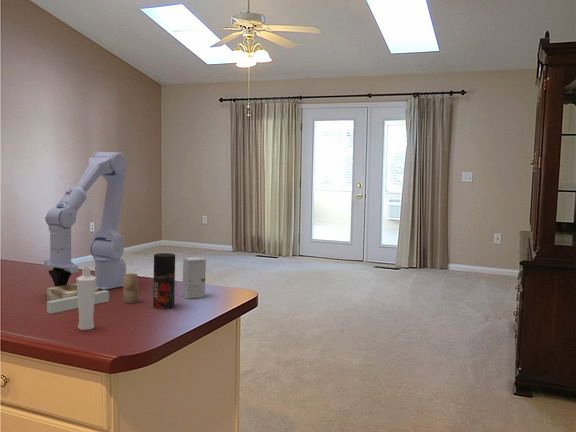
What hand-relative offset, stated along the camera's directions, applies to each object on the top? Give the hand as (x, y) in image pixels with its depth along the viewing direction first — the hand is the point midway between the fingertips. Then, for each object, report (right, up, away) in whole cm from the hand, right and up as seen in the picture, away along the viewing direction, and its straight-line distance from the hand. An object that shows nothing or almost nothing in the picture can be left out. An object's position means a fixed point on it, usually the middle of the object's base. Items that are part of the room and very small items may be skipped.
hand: (60, 293), depth 154 cm
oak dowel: (+21, -2, -1) cm, 21 cm away
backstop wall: (+9, -3, -9) cm, 13 cm away
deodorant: (+32, -3, -5) cm, 32 cm away
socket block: (+5, -2, -3) cm, 6 cm away
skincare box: (+38, -2, +8) cm, 39 cm away
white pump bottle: (+18, -5, -27) cm, 32 cm away
